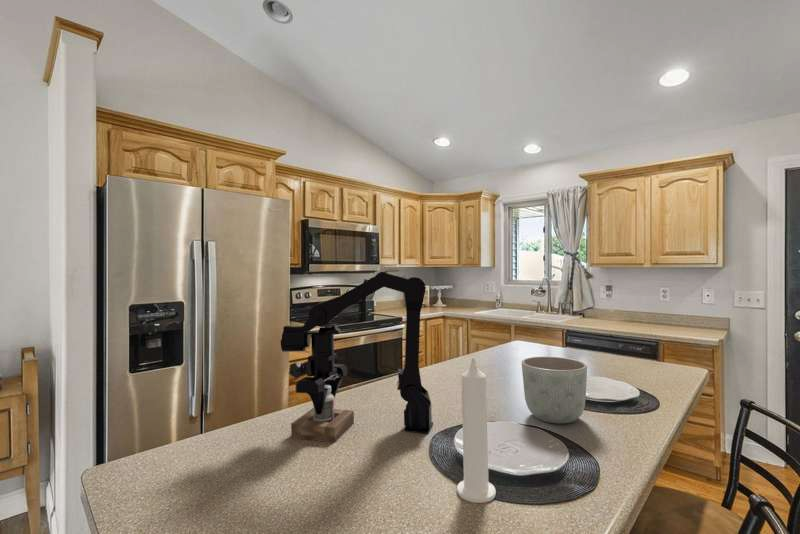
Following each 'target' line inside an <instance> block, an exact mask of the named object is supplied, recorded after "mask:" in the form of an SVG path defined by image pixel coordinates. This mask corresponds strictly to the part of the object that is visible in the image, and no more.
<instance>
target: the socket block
mask: <svg viewBox="0 0 800 534" xmlns="http://www.w3.org/2000/svg"><path fill="white" fill-rule="evenodd" d="M354 424H355V411H354V410H351V409H348V410H347V409H340V408H339V409H337V408H334V419H333V420H332V421H331V422H330V423H329V422H318V421H314V419H313V408H311V409H310V410H307V412H306V413H304V414H303V415H301V416H299V418H297V419H295V420H294V421H293V422H291V423H290V428H291V429H290V431H291V432H290V433H291V436H290V437H291V438H292V439H293V438H294V439H303V440H312V441H320V442H321V441H322V442H332V443H336V442H337V441H338V440H339V439H340V438H341V437H342V436H343V435H344V434H345V433H346V432H347V431H348V430H349V429H350V428H351V427H352V426H353V425H354Z"/></svg>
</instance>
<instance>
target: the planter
mask: <svg viewBox="0 0 800 534" xmlns="http://www.w3.org/2000/svg"><path fill="white" fill-rule="evenodd" d="M520 364H521V371H522V373H521V374H522V382H523V384H522V385H523V393H524V400H525V404H526V406H527V409H528V410H529V412H530V413H531V414H532V415H533V416H534V417H535V418H537V419H539V420H541V421H543V422H546V423H550V424H557V425H559V424H561V425H563V424H565V425H566V424H570V423H573V422H575V421H577V420H578V419H579V418H580V417H581V416H582V414H583V413H584V410H585V407H586V406H585V405H586V398H587V397H586V396H587V380H588V379H587V378H588V364H587V363H585V362H583V361H580V360H578V359H573V358H569V357H568V358H567V357H562V356H548V355H547V356H531V357H527V358H524V359H522V361H521V363H520Z"/></svg>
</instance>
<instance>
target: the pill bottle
mask: <svg viewBox="0 0 800 534" xmlns="http://www.w3.org/2000/svg"><path fill="white" fill-rule="evenodd" d="M324 388H328V391H327V395H326V399H325V402H324V406H323V410H322V413H321V414H317V413H316V410H315V408H314V405H313V404H312V407H313V419H314V421H318V422H329V423H330V422H331V421H332V420H333V419H334V409H335V398H334V396H333V394H331V393H330V392H331V386H330V385H325V386H324Z"/></svg>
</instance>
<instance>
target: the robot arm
mask: <svg viewBox="0 0 800 534" xmlns="http://www.w3.org/2000/svg"><path fill="white" fill-rule="evenodd" d="M383 288H387V289H390V290H394V291H396V292H397V291H398V292H400V293H403V297H404V304H405V310H406V314H405V337H404V338H405V339H404V341H405V342H404V345H405V348H404V364H403V366H402V368H398V369H397V377H398V380H397V383H396V385H397V386H396V387H397V389H396V390H397V391H399V393H400V397H401V399H403V401H406V402H407V403H406V405H405V408H404V410H403V426H404V432H413V433H421V434H423V433H424V434H429V433H430V432H431V429H432V428H433V425H434V422H433V420H432V419H433V418H432V400H431V397H430V394H429V391H428V390H427V389H426V388H425V387H424V386H423V385H422V379H421V378H422V377H421V373H420V365H419V362H420V361H419V360H420V359H419V358H420V331H421V329H420V328H421V313H422V312H421V311H422V307H423V304H424V301H425V300H424V299H425V296H426V295H425V294H426V290H427V287H426V284H425V282H424V280H423V279H422V278H419V277H418V276H417V277H416V276H409V277H408V278H405V277H401V276H398V275H393V274H391V273H388V272H386V271H380V272H378V273H377V274H376V275H375V276H373V277H371V278H369V279H368V280H366V281H364V282H362V283H360V284H359V285H357V286H355V287H353V288H352V289H350V290H348V291H347V292H345V293H343V294H341V295H339V296H336V297H333V298H330V299H328V300H325V301H322V302H319V303H316V304H315V305H312V307H311V308H310V309H309V313H308V319H307V320H306V322H305V323H304V324H303V325H292V324H291V325H290V324H289V325H288V324H287V325H284V326H283V328H282V329H283V331H282V334H281V339H280V348H281V351H282V352H283V353H290V352H291V353H292V352H294V353H295V352H306V350H307V348H310V347H311V355H309V356H308V357H307V361H304V362H301V363H300V362H299V361H296V362H292V363H291V364H289V372H288V373H289V375H290V376H291V377H293V378H294V380H298V379H299V378H300V377H302V376H305V377H303V378H301V379H299V380H298V381H297V382H296V383H295V384H294V385H295V387H294V389H295V393H300V394H307V395H309V398H310V399H311V402H312V406H313V405H314V408H315V410H316V413H317V414H321V413H322V410H323V406H324V402H325V399H326V395H327V391H328V388H324V386H325V385H330V386H331V392H330V393H331V394H333V396H334V399H335V397H336V394H337V393H338V390H339V388H340V385H341V384H342V382H343V380H344V378H343V377H345V376H347V375H348V367H347V366H346V364H344V363H343V364H342V363H335V358H337V356H338V355H337V354H338V353H336V352H335V350H334V347H335V346H334V345H335V344H334V342H335V341H334V335H338V334H340V333H341V332H342V330H341V328H339V327H338V326H337V325H336V323H333V324H332V325H331V326H326V325H328V324H329V323H330V322H331V321H333V319H335V318H336V317H337V316H339V315H340V314H341V313H342V312H343V311H345V310H346V309H347V308H349V307H351V306H352V305H354V304H356V303H358V302H359V301H361V300H363V299H365V298H366V297H368V296H370V295H372V294H373V293H375V292H377V291H378V290H380V289H383ZM316 327H319V329H318V330H313V329H314V328H316ZM339 375H340V376H341V377H339Z"/></svg>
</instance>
